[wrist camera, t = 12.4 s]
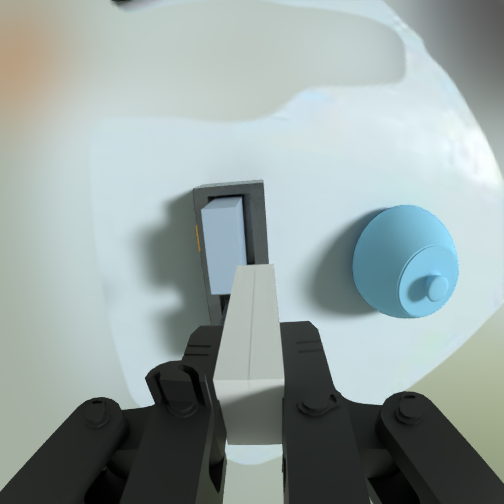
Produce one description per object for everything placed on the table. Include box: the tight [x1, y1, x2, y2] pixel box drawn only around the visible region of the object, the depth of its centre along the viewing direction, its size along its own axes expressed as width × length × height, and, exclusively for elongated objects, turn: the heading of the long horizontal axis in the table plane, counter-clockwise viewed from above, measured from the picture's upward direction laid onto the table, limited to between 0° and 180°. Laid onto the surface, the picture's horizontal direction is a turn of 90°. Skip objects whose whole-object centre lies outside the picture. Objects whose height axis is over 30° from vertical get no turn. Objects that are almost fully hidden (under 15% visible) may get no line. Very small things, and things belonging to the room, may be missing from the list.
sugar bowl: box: [353, 205, 459, 318], centre depth 31 cm, size 15×15×12 cm
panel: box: [201, 194, 248, 294], centre depth 30 cm, size 8×3×10 cm, turn 4°
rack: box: [193, 180, 269, 326], centre depth 32 cm, size 23×8×11 cm, turn 4°
